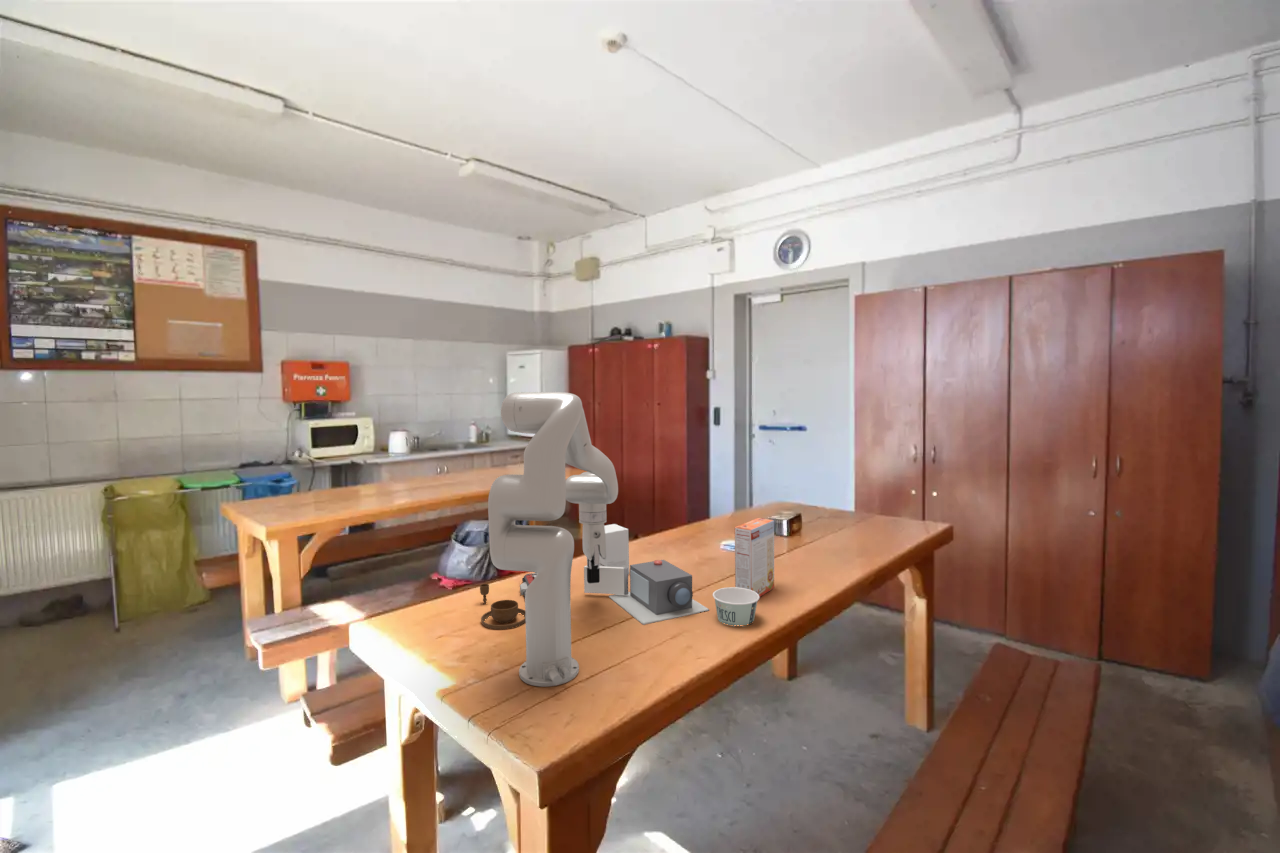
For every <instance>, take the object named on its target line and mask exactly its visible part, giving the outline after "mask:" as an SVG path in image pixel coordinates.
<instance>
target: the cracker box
mask: <svg viewBox="0 0 1280 853" xmlns="http://www.w3.org/2000/svg"><path fill="white" fill-rule="evenodd" d="M734 587H738V588H745V589H749V590H752V591H754V592H756V593H757V594H758V595H759V597H760V598H761V597H762V596H764V595H765V594H767V593H768V592H770V591H772V590H774V589H775V520H773V519H768V518H767V519H766V518H763V517H756V518H754V519H751V520H749V521H747V522H743V523H741V524H739V525H736V526H735V527H734Z"/></svg>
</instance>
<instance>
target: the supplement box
mask: <svg viewBox="0 0 1280 853" xmlns="http://www.w3.org/2000/svg"><path fill="white" fill-rule="evenodd" d="M604 527H605V539H606V559H603V558H602V557H601V556H600V562H599V566H605V567H627V568H628V575H630V552H629V551H630V548H629V547H630V546H629V545H630V544H629V543H630V542H629V528H626V527H624V526H621V525H618V524H617V523H612V524H606V525H604Z"/></svg>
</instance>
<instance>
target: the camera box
mask: <svg viewBox="0 0 1280 853" xmlns="http://www.w3.org/2000/svg"><path fill="white" fill-rule="evenodd" d="M629 586H630V587H629V588H630V589H629V591H628V595H622V594H608V598H609V599H610V600H611V601H613V602H615V603H616V605H617V606H619V607H620V608H622V609H623V610H624V611H625V612H627V613H628V615H630V616H632V617H633V618H634V619H635V620H637V621H638V622H639V623H640V624H642V626H645V625H649V624H653V623H658V622H662V621H667V620H671V619H677V618H681V617H686V616H691V615H695V614H699V613H700V612H701V613H705V612H710V609H709V608H708V607H707V606H704V605H703V604H701V603H700V602H698V601H697V600H695V599H693V596H694V595H693V594H694V592H693V575H692V574H691V573H688V572H687V571H685V570H684V569H681V567H678V566H676V565H674V564H673V563H670V562H669V561H667V560H665V559H656V560H654V561H647V562H641V563H635V564H629ZM704 611H705V612H704ZM701 613H700V614H701Z"/></svg>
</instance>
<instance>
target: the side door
mask: <svg viewBox="0 0 1280 853" xmlns="http://www.w3.org/2000/svg"><path fill="white" fill-rule="evenodd" d="M587 568H589V567H587V565H584V567H583V580H584V581H583V585H584V586H583V589H584V590H583V592H584V594H585V593H586V594H604V595H606V594H607V595H614V594H622V595H628V592H629V574H628V568H627V567H605V566H599V574H600V581H599V583H588V582H587Z"/></svg>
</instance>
